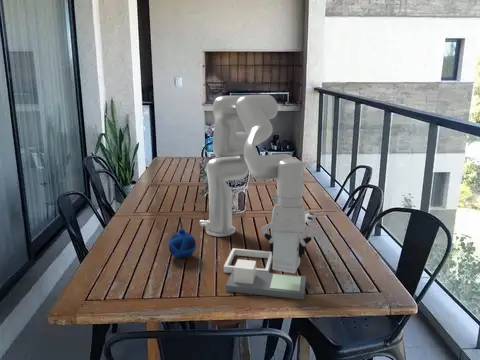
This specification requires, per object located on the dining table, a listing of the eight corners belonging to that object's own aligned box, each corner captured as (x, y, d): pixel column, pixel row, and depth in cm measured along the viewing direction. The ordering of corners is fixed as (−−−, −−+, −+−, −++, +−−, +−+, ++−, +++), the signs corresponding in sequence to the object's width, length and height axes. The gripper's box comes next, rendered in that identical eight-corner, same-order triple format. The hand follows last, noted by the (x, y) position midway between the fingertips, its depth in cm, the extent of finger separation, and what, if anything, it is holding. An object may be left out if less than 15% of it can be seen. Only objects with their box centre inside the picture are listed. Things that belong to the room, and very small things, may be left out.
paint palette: (302, 228, 184) (302, 224, 184) (266, 218, 196) (266, 214, 196) (324, 217, 198) (325, 213, 198) (290, 208, 211) (290, 204, 210)
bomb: (189, 248, 162) (188, 211, 158) (200, 260, 152) (199, 221, 148) (164, 253, 157) (163, 215, 153) (173, 265, 148) (172, 225, 144)
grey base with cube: (225, 291, 131) (226, 270, 130) (233, 274, 142) (233, 255, 140) (304, 299, 127) (305, 278, 125) (305, 281, 138) (306, 262, 136)
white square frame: (223, 272, 144) (223, 266, 143) (232, 253, 158) (232, 248, 157) (267, 276, 141) (267, 270, 140) (272, 257, 155) (272, 251, 154)
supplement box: (295, 274, 127) (297, 234, 124) (271, 269, 129) (272, 231, 126) (300, 263, 134) (302, 226, 130) (278, 260, 136) (279, 223, 133)
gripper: (258, 202, 124) (257, 257, 129) (318, 206, 121) (315, 263, 125) (262, 195, 131) (260, 247, 136) (319, 199, 128) (315, 252, 133)
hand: (287, 254), depth 131 cm, fingers closed on supplement box, 8 cm apart
